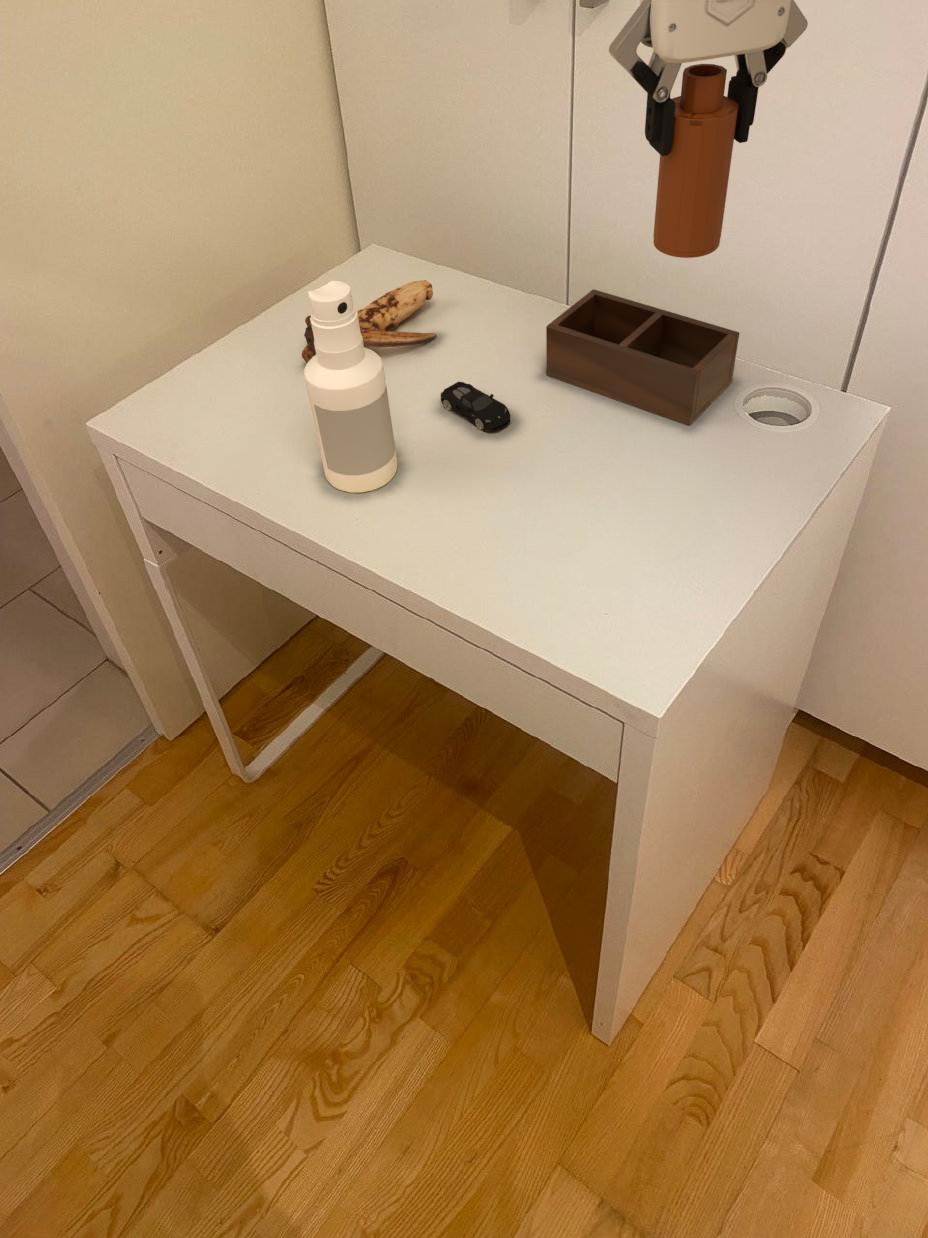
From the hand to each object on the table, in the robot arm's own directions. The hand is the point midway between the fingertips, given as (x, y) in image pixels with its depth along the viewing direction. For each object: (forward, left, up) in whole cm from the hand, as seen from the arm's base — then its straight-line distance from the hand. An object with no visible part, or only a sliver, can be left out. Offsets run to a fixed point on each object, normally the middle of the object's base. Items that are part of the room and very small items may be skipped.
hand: (697, 140), depth 76 cm
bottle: (0, 0, -8) cm, 8 cm away
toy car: (+18, +6, -24) cm, 31 cm away
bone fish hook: (+32, -5, -24) cm, 40 cm away
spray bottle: (+26, +17, -24) cm, 40 cm away
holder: (+4, -3, -24) cm, 25 cm away
